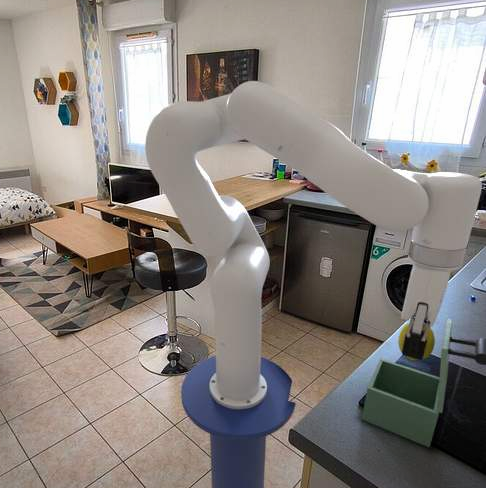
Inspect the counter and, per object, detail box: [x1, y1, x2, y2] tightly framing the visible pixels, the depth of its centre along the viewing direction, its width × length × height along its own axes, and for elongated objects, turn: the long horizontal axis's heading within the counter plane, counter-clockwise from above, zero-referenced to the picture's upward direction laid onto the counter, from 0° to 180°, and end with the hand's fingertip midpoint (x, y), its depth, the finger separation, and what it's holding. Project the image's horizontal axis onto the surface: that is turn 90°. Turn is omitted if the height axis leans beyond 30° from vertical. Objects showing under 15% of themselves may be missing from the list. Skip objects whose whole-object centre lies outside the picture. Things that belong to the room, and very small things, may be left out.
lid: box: [437, 318, 486, 414], centre depth 61 cm, size 12×10×6 cm
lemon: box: [397, 322, 436, 361], centre depth 64 cm, size 6×6×8 cm
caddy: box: [361, 357, 440, 448], centre depth 69 cm, size 11×10×8 cm
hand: (414, 346), depth 65 cm, fingers closed on lemon, 5 cm apart
